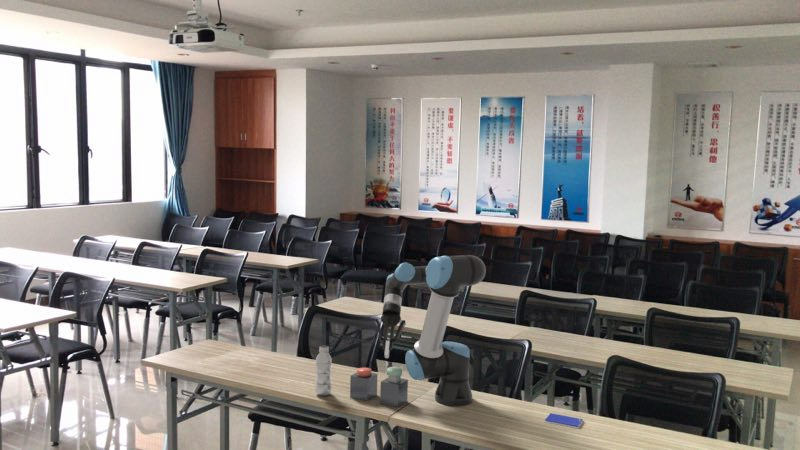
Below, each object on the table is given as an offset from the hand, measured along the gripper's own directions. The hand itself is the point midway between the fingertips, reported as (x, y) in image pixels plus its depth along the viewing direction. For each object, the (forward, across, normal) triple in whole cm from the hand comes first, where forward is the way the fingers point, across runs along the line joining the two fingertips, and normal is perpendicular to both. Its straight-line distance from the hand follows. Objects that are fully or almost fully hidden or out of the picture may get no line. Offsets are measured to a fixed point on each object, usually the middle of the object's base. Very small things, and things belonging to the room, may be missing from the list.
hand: (386, 356), depth 275 cm
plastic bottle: (+11, +26, -14) cm, 32 cm away
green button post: (+14, -3, -12) cm, 19 cm away
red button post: (+10, +10, -15) cm, 21 cm away
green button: (+11, -3, -9) cm, 15 cm away
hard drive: (+21, -69, -7) cm, 73 cm away
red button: (+9, +10, -14) cm, 19 cm away
